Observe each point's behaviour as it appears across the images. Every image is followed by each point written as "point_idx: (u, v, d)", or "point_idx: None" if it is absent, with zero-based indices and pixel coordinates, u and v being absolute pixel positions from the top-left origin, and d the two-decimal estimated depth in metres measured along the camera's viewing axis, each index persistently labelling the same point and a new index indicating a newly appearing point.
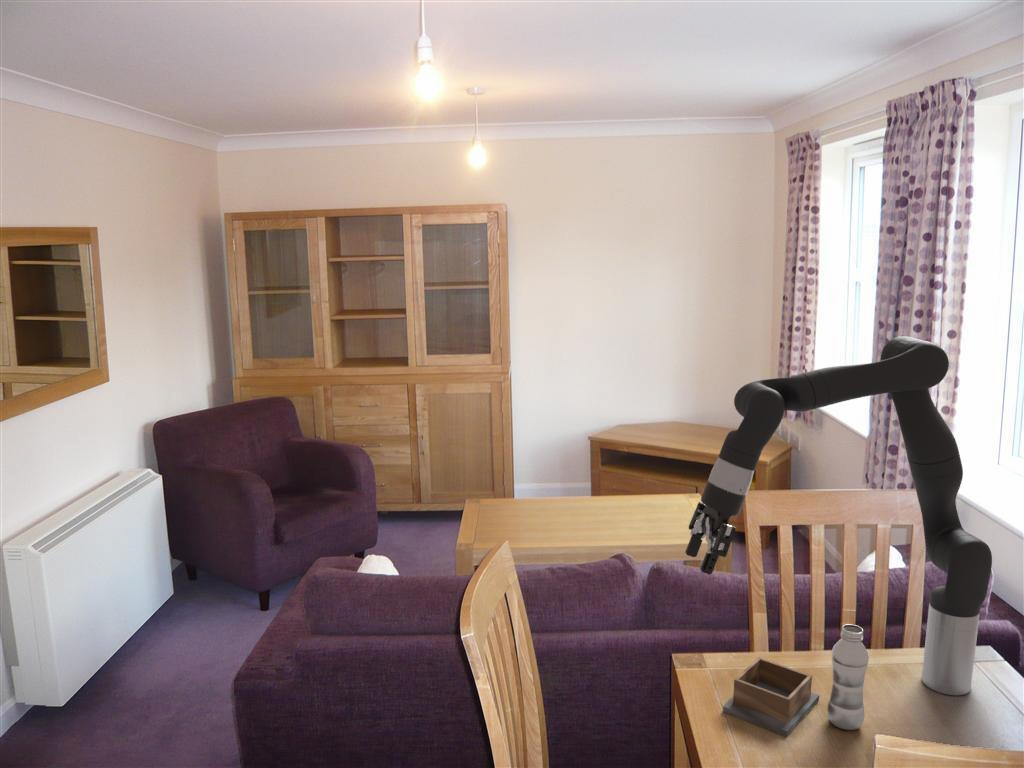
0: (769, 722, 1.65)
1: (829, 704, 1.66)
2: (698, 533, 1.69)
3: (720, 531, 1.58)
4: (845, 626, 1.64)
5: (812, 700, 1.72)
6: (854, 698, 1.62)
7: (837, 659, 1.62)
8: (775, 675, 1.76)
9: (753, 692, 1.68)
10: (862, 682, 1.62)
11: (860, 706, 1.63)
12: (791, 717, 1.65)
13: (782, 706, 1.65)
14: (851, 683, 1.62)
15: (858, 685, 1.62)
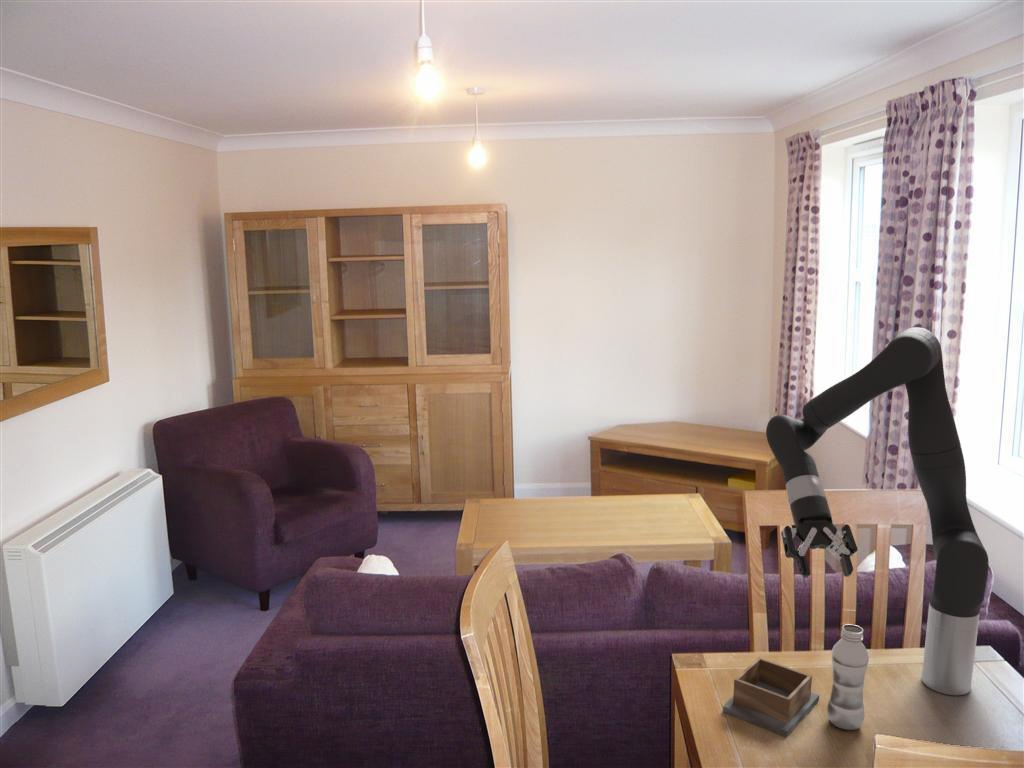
0: (769, 722, 1.65)
1: (829, 704, 1.66)
2: (841, 553, 1.75)
3: None
4: (845, 626, 1.64)
5: (812, 700, 1.72)
6: (854, 698, 1.62)
7: (837, 659, 1.62)
8: (775, 675, 1.76)
9: (753, 692, 1.68)
10: (862, 682, 1.62)
11: (860, 706, 1.63)
12: (791, 717, 1.65)
13: (782, 706, 1.65)
14: (851, 683, 1.62)
15: (858, 685, 1.62)
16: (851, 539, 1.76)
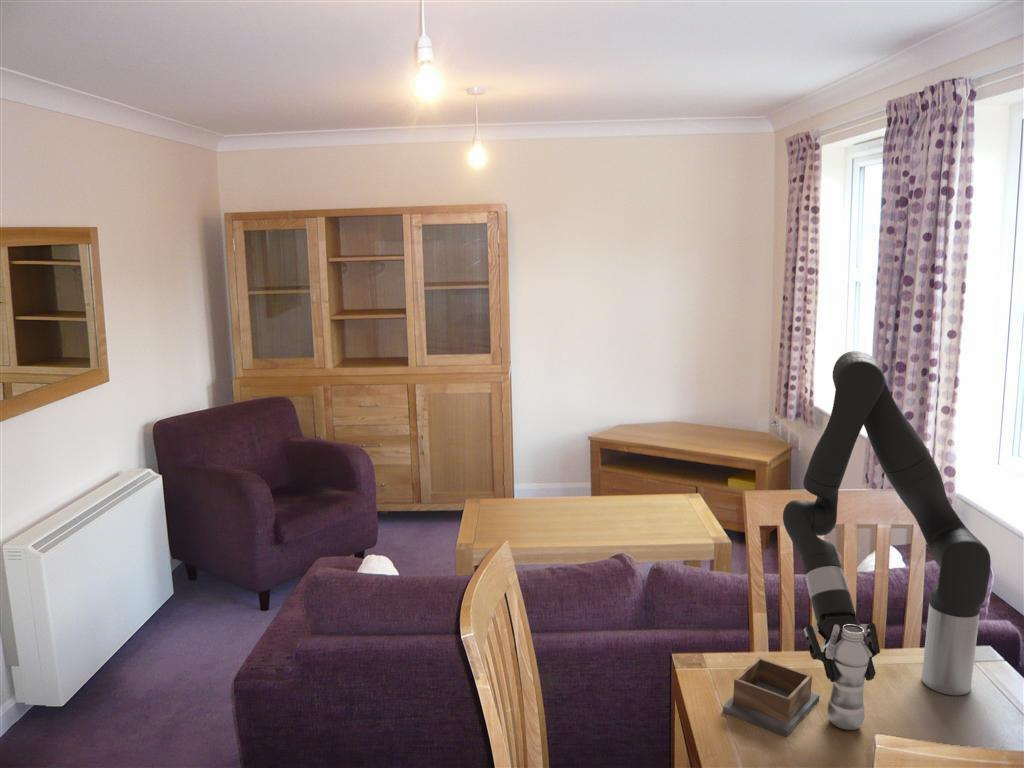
0: (769, 722, 1.65)
1: (829, 704, 1.66)
2: None
3: None
4: (846, 626, 1.64)
5: (812, 700, 1.72)
6: (855, 698, 1.62)
7: (838, 659, 1.62)
8: (775, 675, 1.76)
9: (753, 692, 1.68)
10: (862, 682, 1.62)
11: (860, 706, 1.63)
12: (791, 717, 1.65)
13: (782, 706, 1.65)
14: (852, 683, 1.62)
15: (858, 685, 1.62)
16: (875, 640, 1.66)
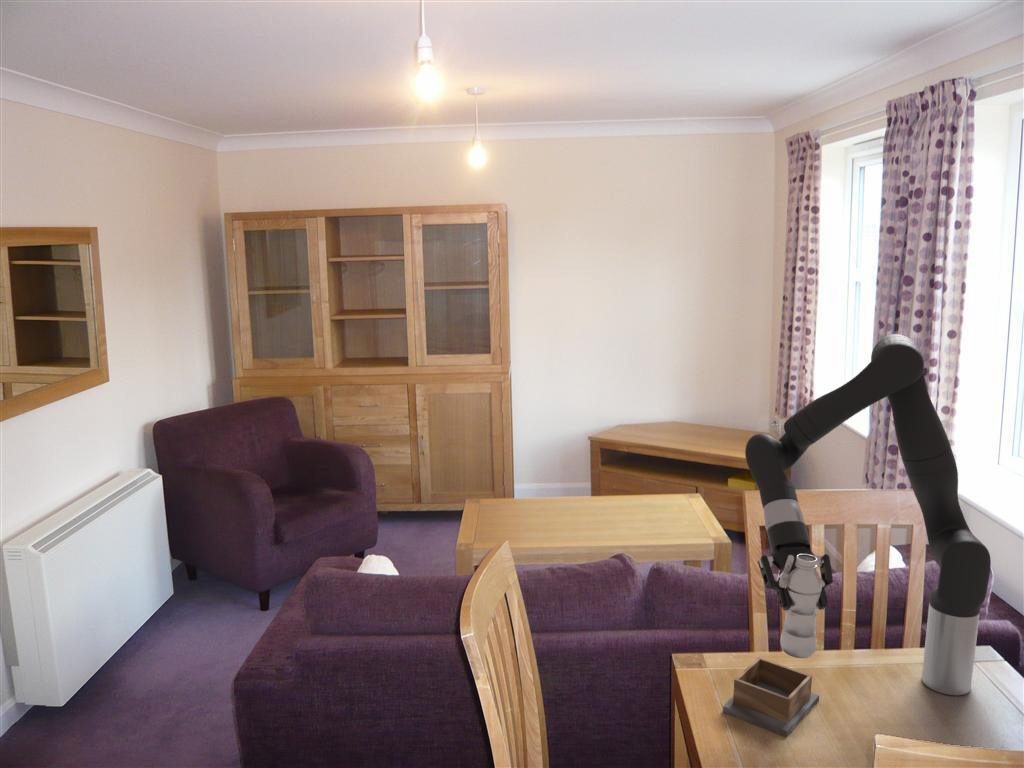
0: (769, 722, 1.65)
1: (782, 633, 1.67)
2: None
3: None
4: (800, 555, 1.65)
5: (812, 700, 1.72)
6: (807, 626, 1.64)
7: (791, 587, 1.64)
8: (775, 675, 1.76)
9: (753, 692, 1.68)
10: (815, 611, 1.64)
11: (812, 634, 1.65)
12: (791, 717, 1.65)
13: (782, 706, 1.65)
14: (804, 611, 1.63)
15: (810, 613, 1.63)
16: (828, 571, 1.67)
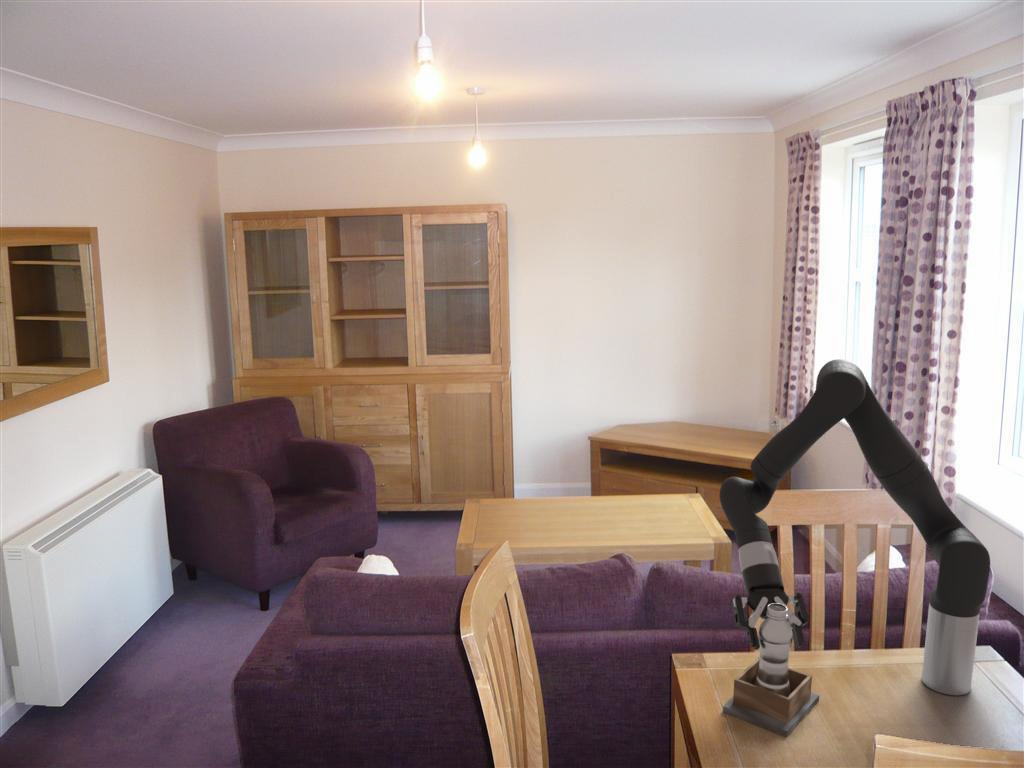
0: (769, 722, 1.65)
1: (756, 680, 1.72)
2: (793, 623, 1.71)
3: None
4: (771, 605, 1.69)
5: (812, 700, 1.72)
6: (779, 674, 1.68)
7: (763, 637, 1.68)
8: None
9: (753, 692, 1.68)
10: (787, 658, 1.68)
11: (785, 681, 1.69)
12: (791, 717, 1.65)
13: (782, 706, 1.65)
14: (776, 660, 1.68)
15: (783, 661, 1.68)
16: (803, 609, 1.72)
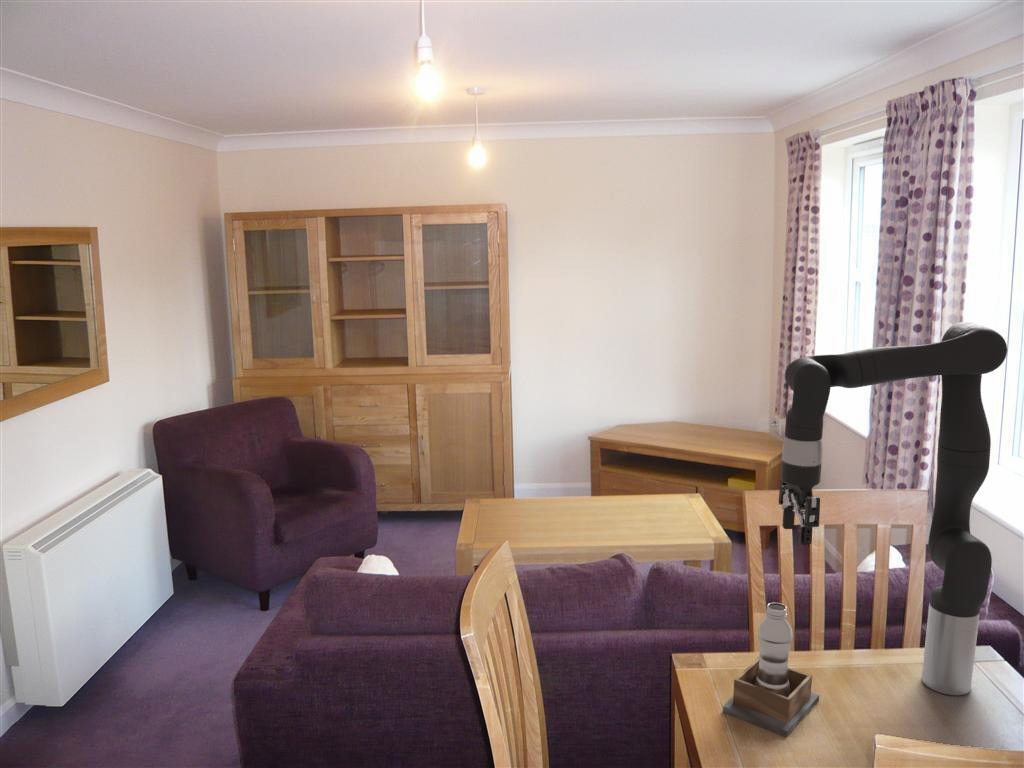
0: (769, 722, 1.65)
1: (756, 680, 1.72)
2: (789, 506, 1.78)
3: (806, 505, 1.67)
4: (770, 604, 1.70)
5: (812, 700, 1.72)
6: (779, 674, 1.69)
7: (762, 636, 1.68)
8: None
9: (753, 692, 1.68)
10: (786, 658, 1.68)
11: (785, 681, 1.69)
12: (791, 717, 1.65)
13: (782, 706, 1.65)
14: (776, 659, 1.68)
15: (782, 661, 1.68)
16: None
